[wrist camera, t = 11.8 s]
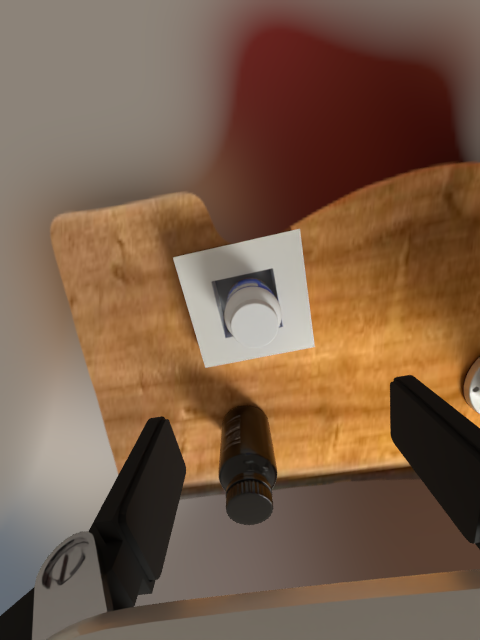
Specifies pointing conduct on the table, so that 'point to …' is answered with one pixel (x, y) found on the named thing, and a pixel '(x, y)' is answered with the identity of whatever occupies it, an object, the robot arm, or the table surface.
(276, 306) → the pill bottle
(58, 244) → the table surface
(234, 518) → the supplement bottle
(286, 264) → the housing
